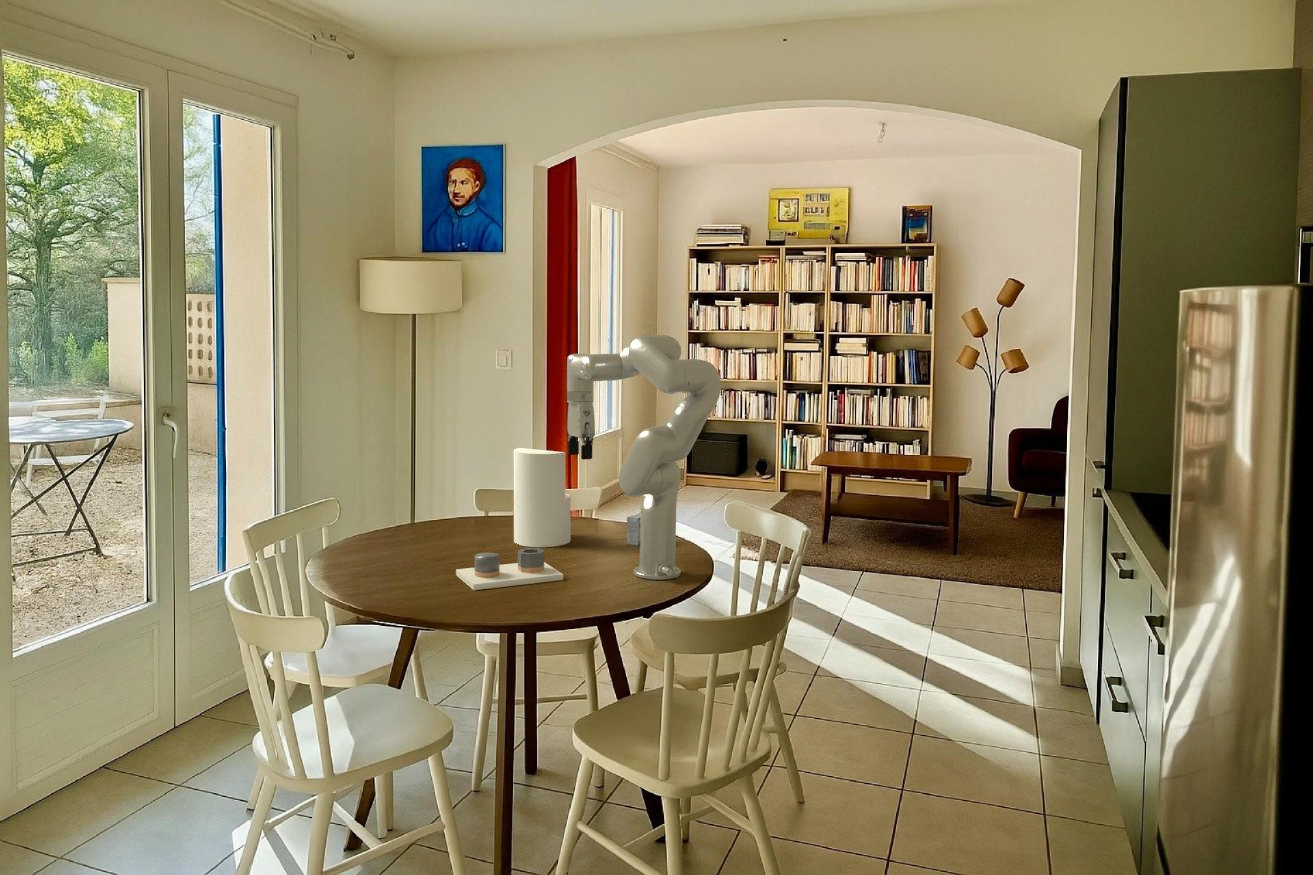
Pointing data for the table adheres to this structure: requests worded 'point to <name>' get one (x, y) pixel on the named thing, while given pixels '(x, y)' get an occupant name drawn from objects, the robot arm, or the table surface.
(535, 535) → the cylinder
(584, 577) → the table surface
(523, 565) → the sleeve
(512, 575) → the pin board
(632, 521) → the medicine box
